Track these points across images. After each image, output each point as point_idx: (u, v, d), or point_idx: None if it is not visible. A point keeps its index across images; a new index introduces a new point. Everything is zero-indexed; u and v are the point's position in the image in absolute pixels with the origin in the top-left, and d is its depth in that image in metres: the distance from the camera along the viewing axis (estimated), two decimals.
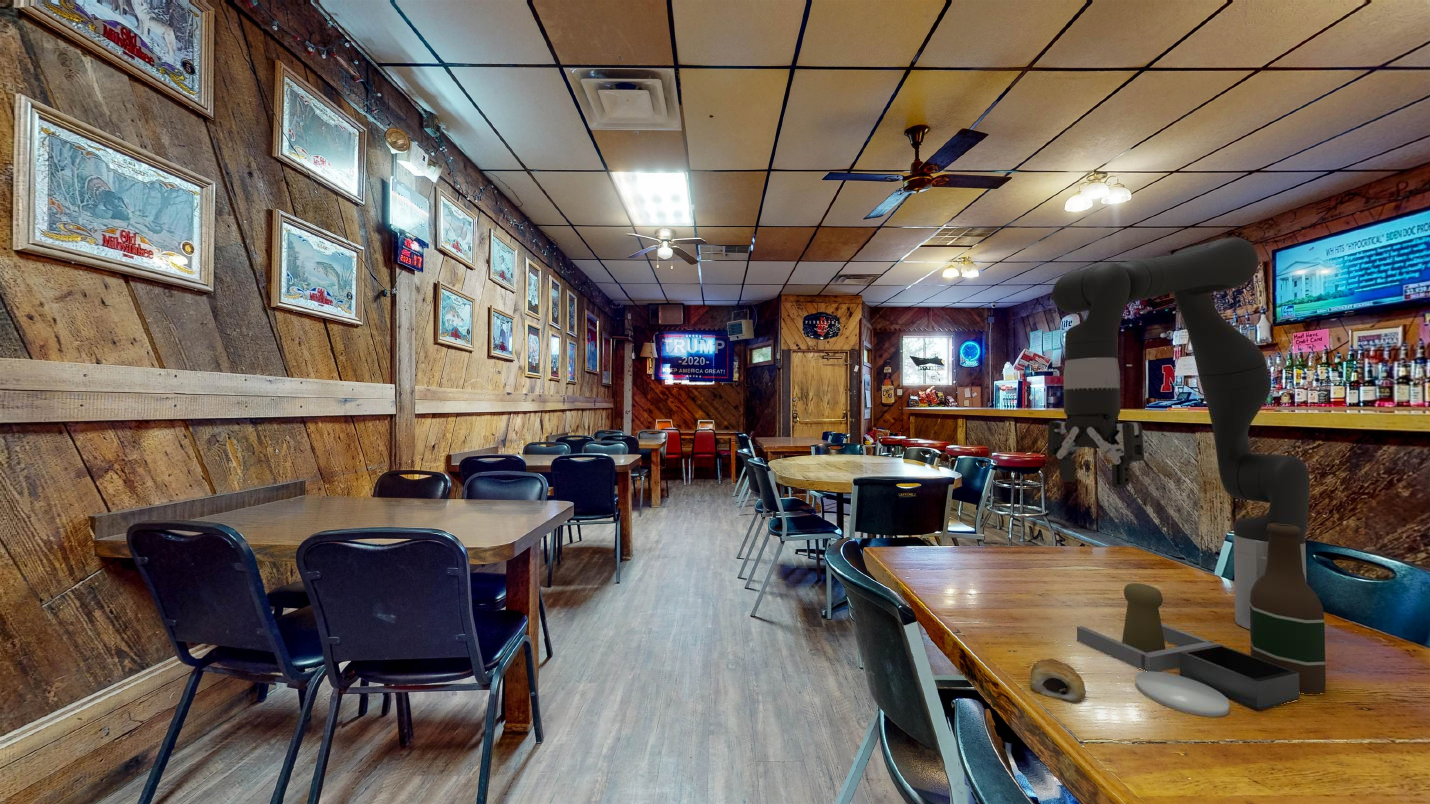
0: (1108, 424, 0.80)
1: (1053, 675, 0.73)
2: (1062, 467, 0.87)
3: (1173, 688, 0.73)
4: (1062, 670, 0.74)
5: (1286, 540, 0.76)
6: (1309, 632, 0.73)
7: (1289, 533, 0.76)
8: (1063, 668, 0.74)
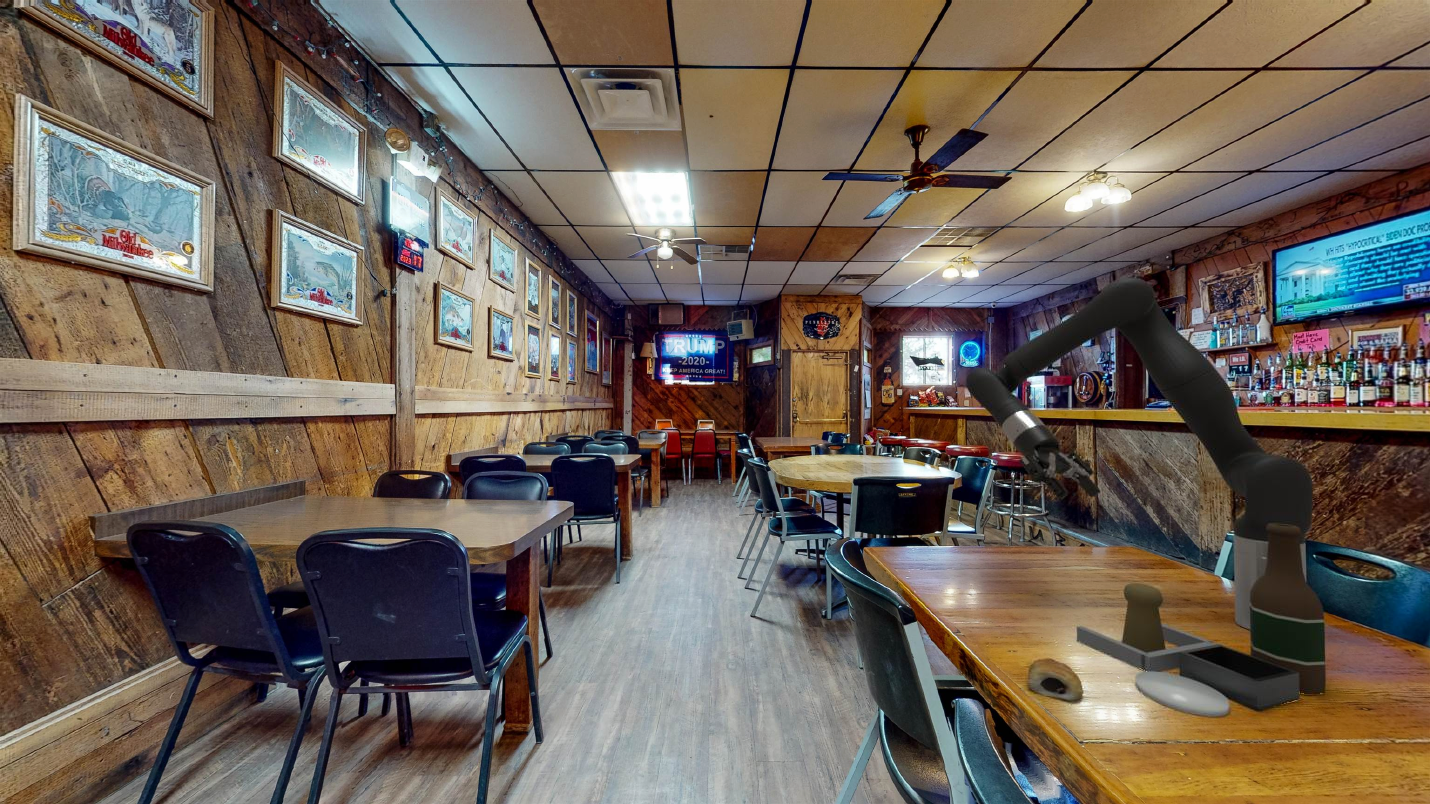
0: None
1: (1050, 675, 0.73)
2: None
3: (1173, 688, 0.73)
4: (1060, 669, 0.74)
5: (1286, 540, 0.76)
6: (1309, 632, 0.73)
7: (1289, 533, 0.76)
8: (1061, 667, 0.75)
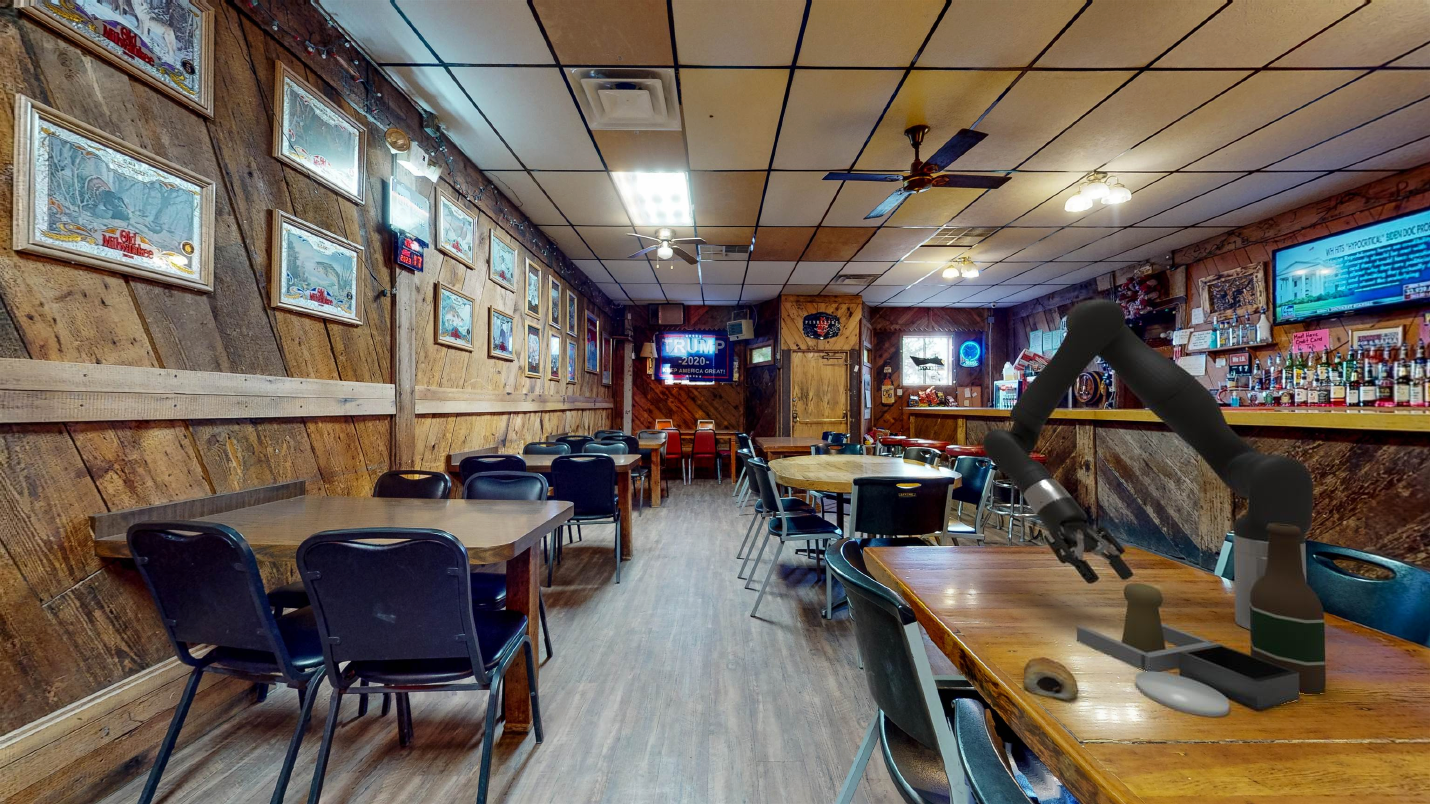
0: None
1: (1046, 674, 0.73)
2: None
3: (1173, 688, 0.73)
4: (1055, 668, 0.74)
5: (1286, 540, 0.76)
6: (1309, 632, 0.73)
7: (1289, 533, 0.76)
8: (1056, 666, 0.75)
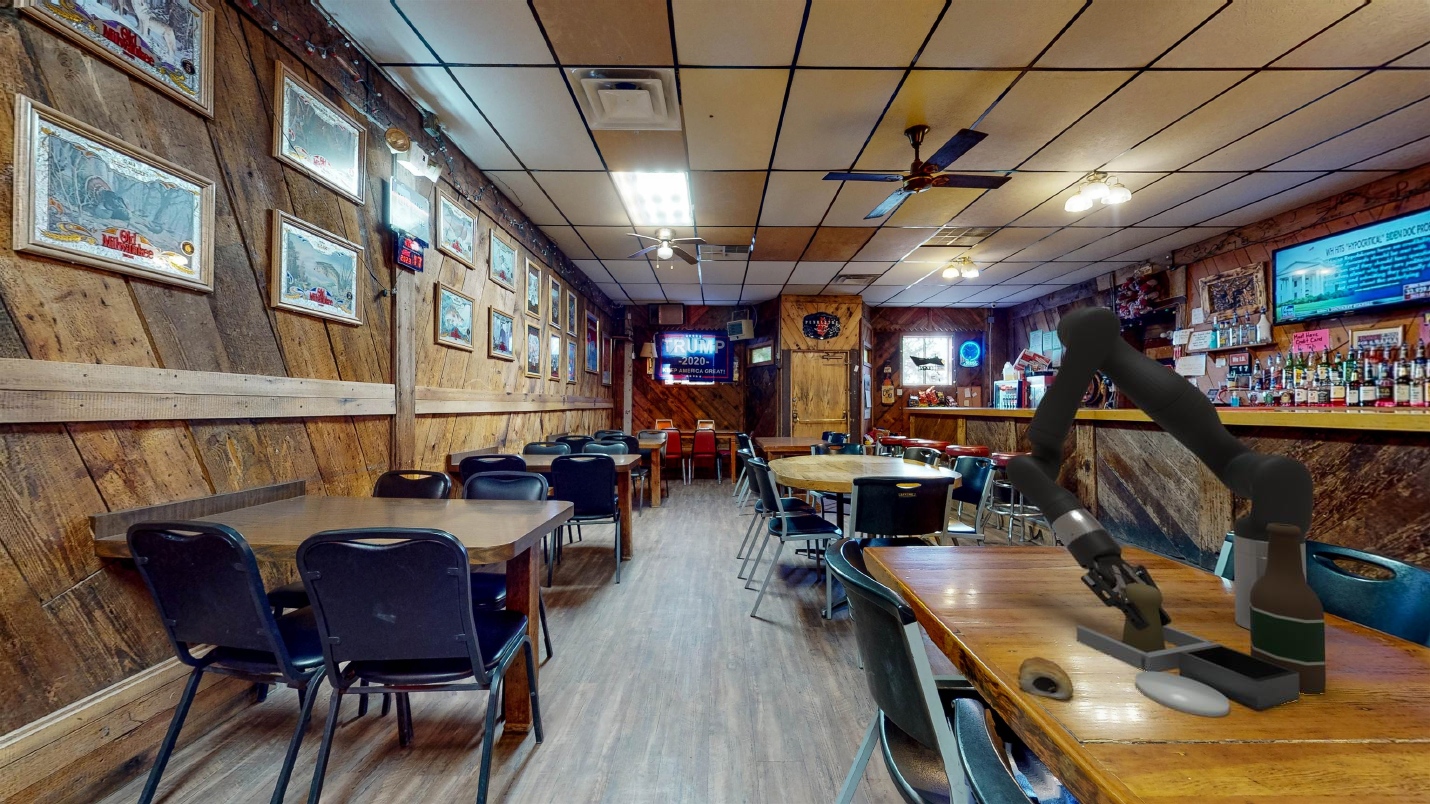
0: None
1: (1042, 674, 0.73)
2: None
3: (1173, 688, 0.73)
4: (1051, 668, 0.74)
5: (1286, 540, 0.76)
6: (1309, 632, 0.73)
7: (1289, 533, 0.76)
8: (1051, 666, 0.75)
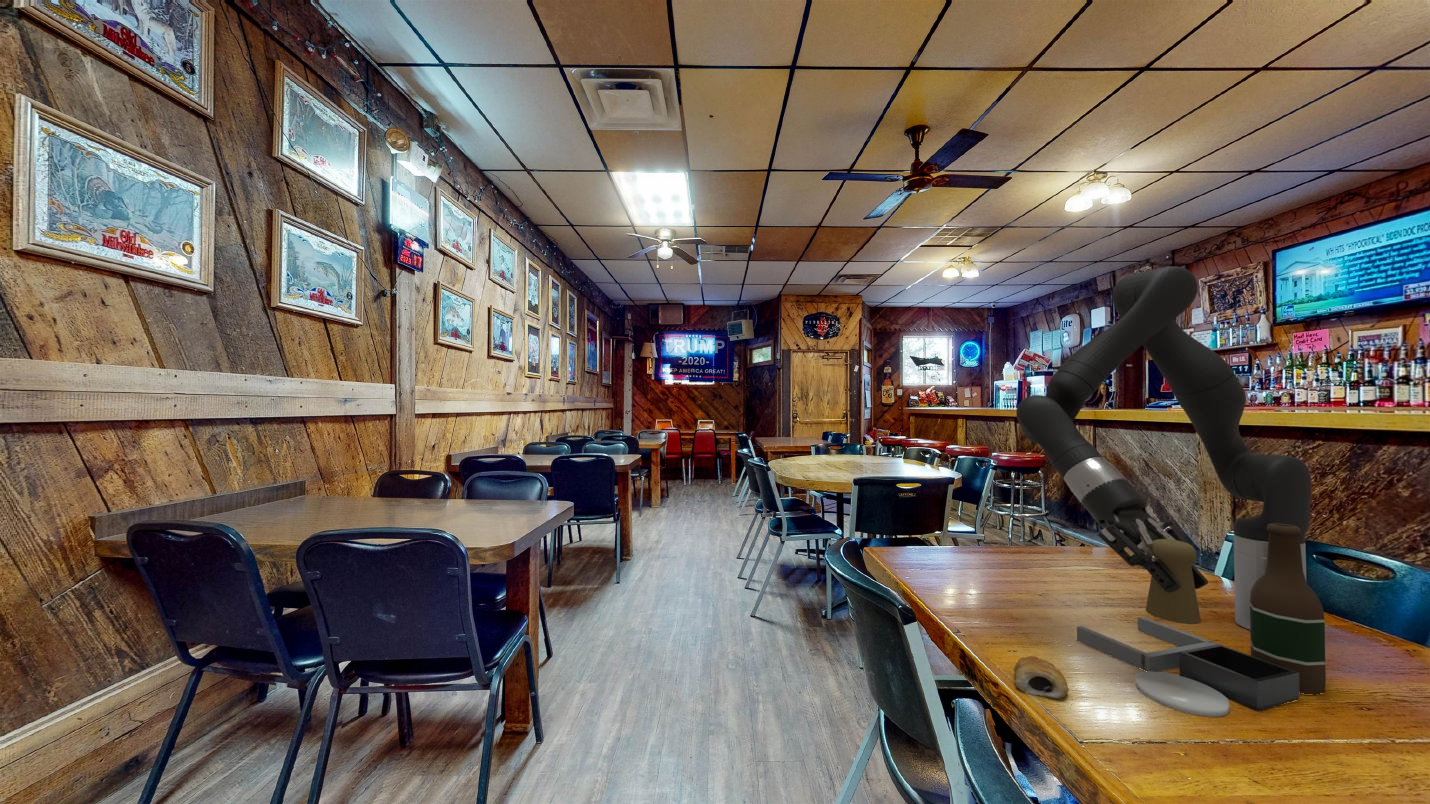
0: None
1: (1038, 674, 0.73)
2: None
3: (1173, 688, 0.73)
4: (1046, 667, 0.75)
5: (1286, 540, 0.76)
6: (1309, 632, 0.73)
7: (1289, 533, 0.76)
8: (1046, 665, 0.75)
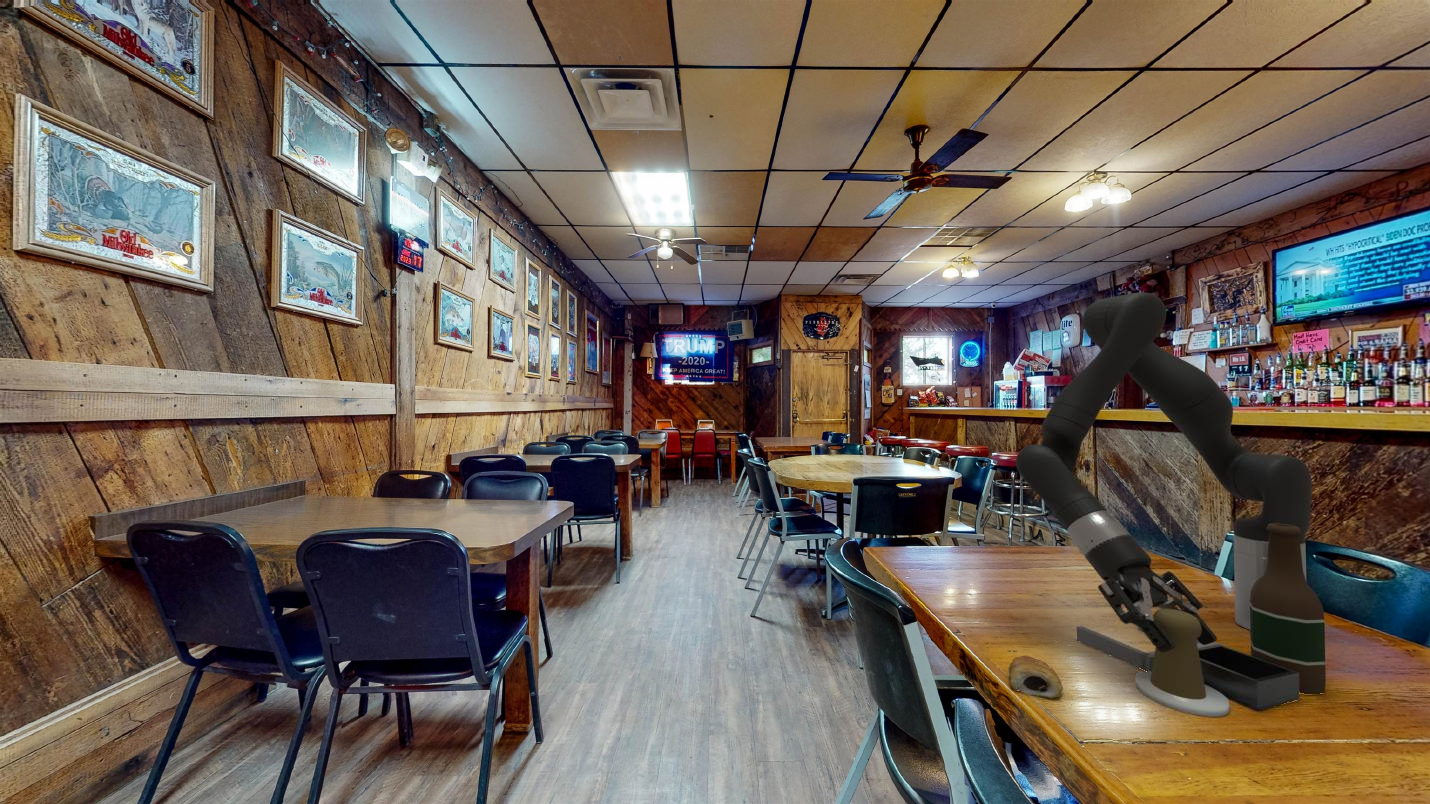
0: None
1: (1033, 673, 0.73)
2: None
3: None
4: (1040, 667, 0.75)
5: (1286, 540, 0.76)
6: (1309, 632, 0.73)
7: (1289, 533, 0.76)
8: (1041, 665, 0.75)
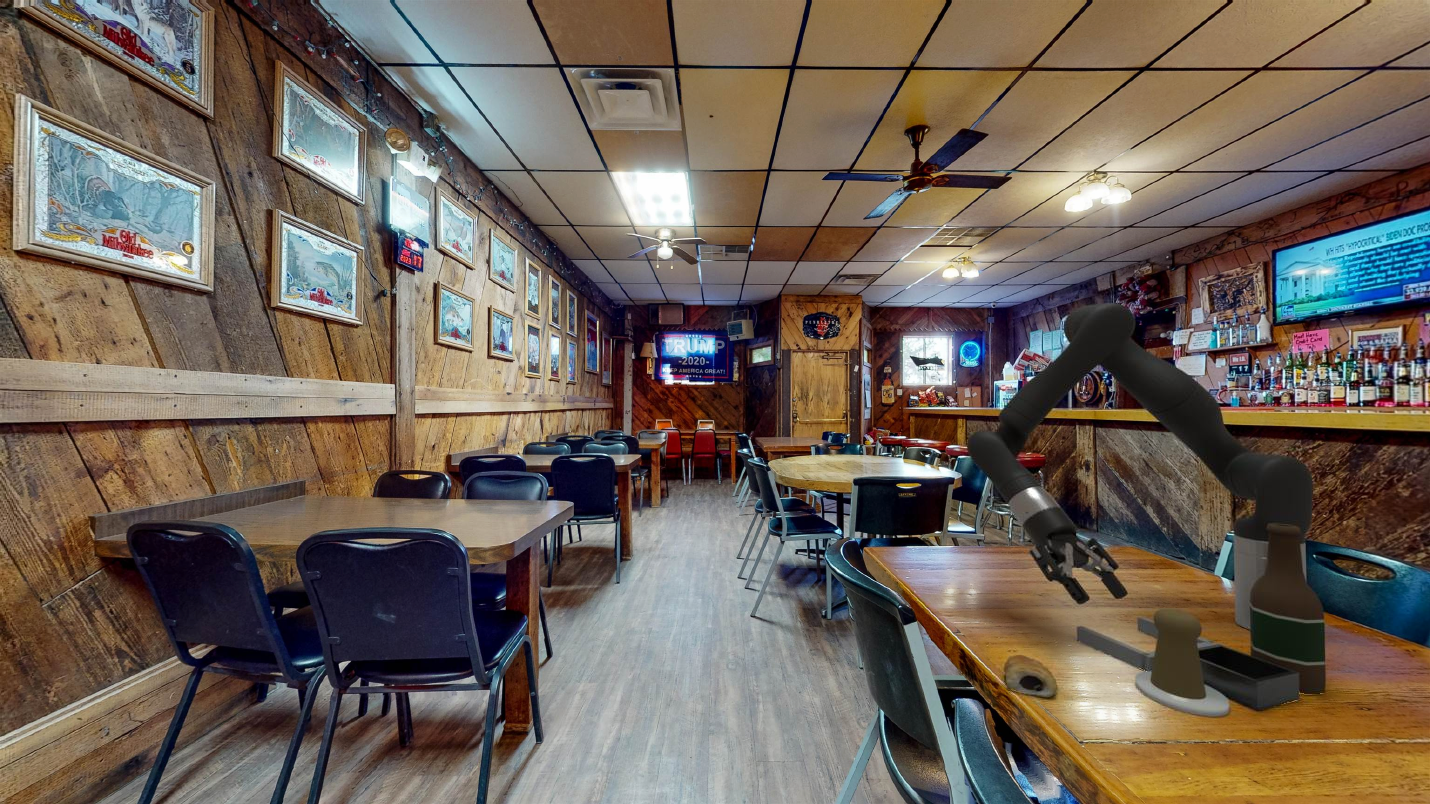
0: None
1: (1028, 673, 0.73)
2: None
3: None
4: (1035, 666, 0.75)
5: (1286, 540, 0.76)
6: (1309, 632, 0.73)
7: (1289, 533, 0.76)
8: (1036, 664, 0.75)
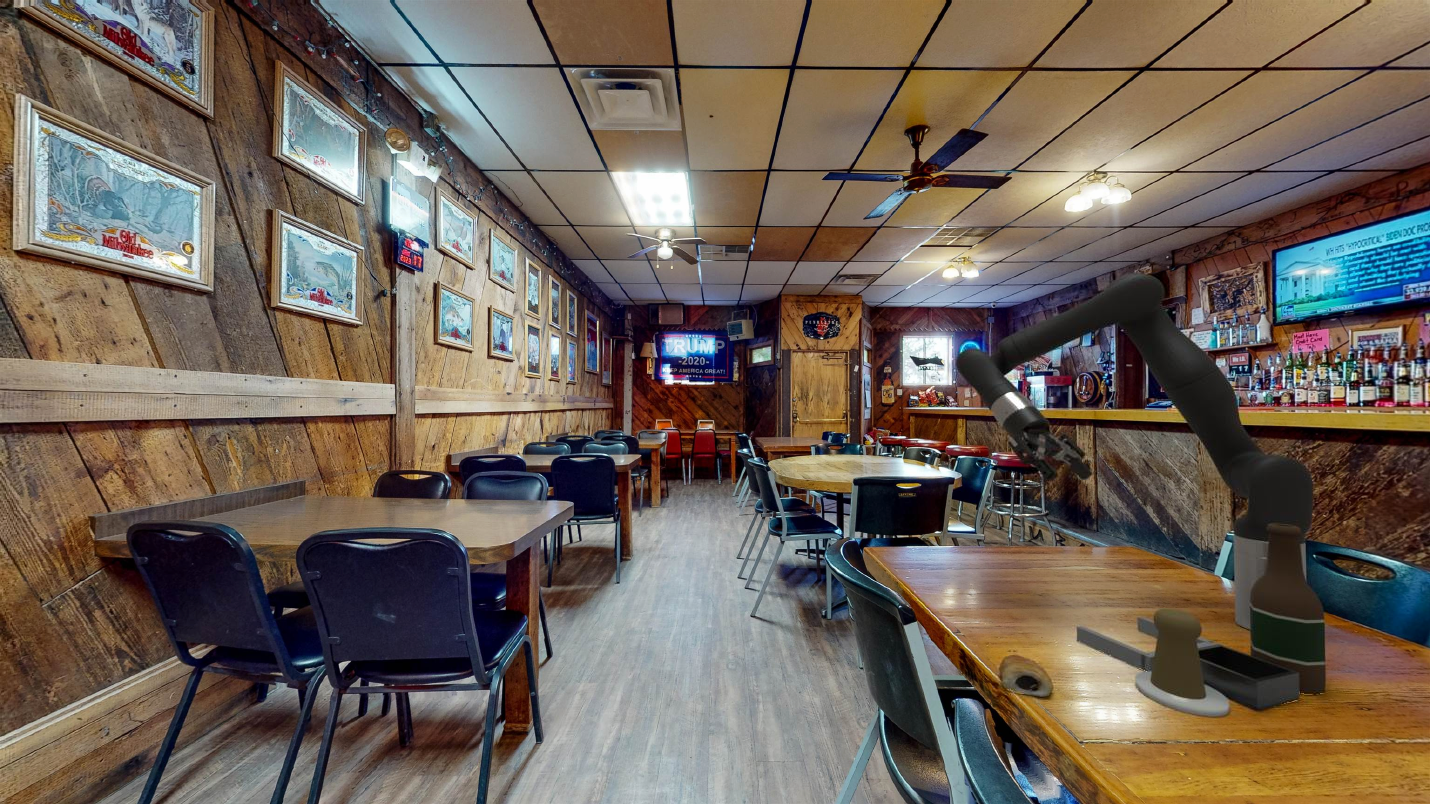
0: None
1: (1024, 673, 0.73)
2: None
3: None
4: (1031, 666, 0.75)
5: (1286, 540, 0.76)
6: (1309, 632, 0.73)
7: (1289, 533, 0.76)
8: (1031, 664, 0.76)
